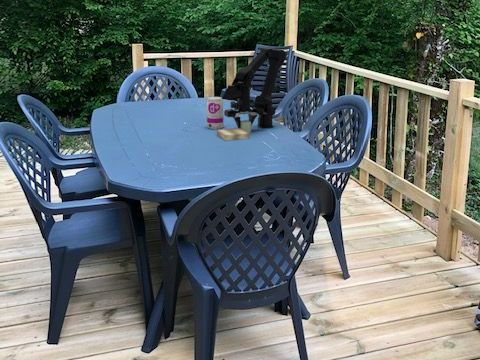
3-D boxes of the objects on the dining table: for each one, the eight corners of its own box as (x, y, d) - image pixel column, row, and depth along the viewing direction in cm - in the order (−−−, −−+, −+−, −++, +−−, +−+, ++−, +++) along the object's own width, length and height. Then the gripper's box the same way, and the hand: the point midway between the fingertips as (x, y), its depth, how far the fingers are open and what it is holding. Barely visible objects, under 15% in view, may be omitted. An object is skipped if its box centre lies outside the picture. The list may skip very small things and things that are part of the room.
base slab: (240, 134, 276) (240, 127, 275) (249, 139, 265) (249, 133, 264) (216, 136, 272) (216, 130, 271) (225, 141, 261) (225, 135, 260)
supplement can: (221, 129, 283) (220, 99, 278) (205, 129, 284) (204, 99, 280) (225, 126, 290) (224, 96, 286) (209, 125, 292) (208, 96, 287)
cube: (247, 130, 282) (247, 120, 280) (251, 132, 277) (251, 122, 276) (237, 131, 280) (237, 120, 278) (241, 133, 275) (241, 122, 274)
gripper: (255, 93, 284) (255, 124, 289) (220, 96, 277) (220, 127, 282) (264, 97, 274) (264, 129, 279) (228, 99, 267) (228, 132, 272)
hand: (244, 129), depth 278 cm, fingers closed on cube, 5 cm apart
